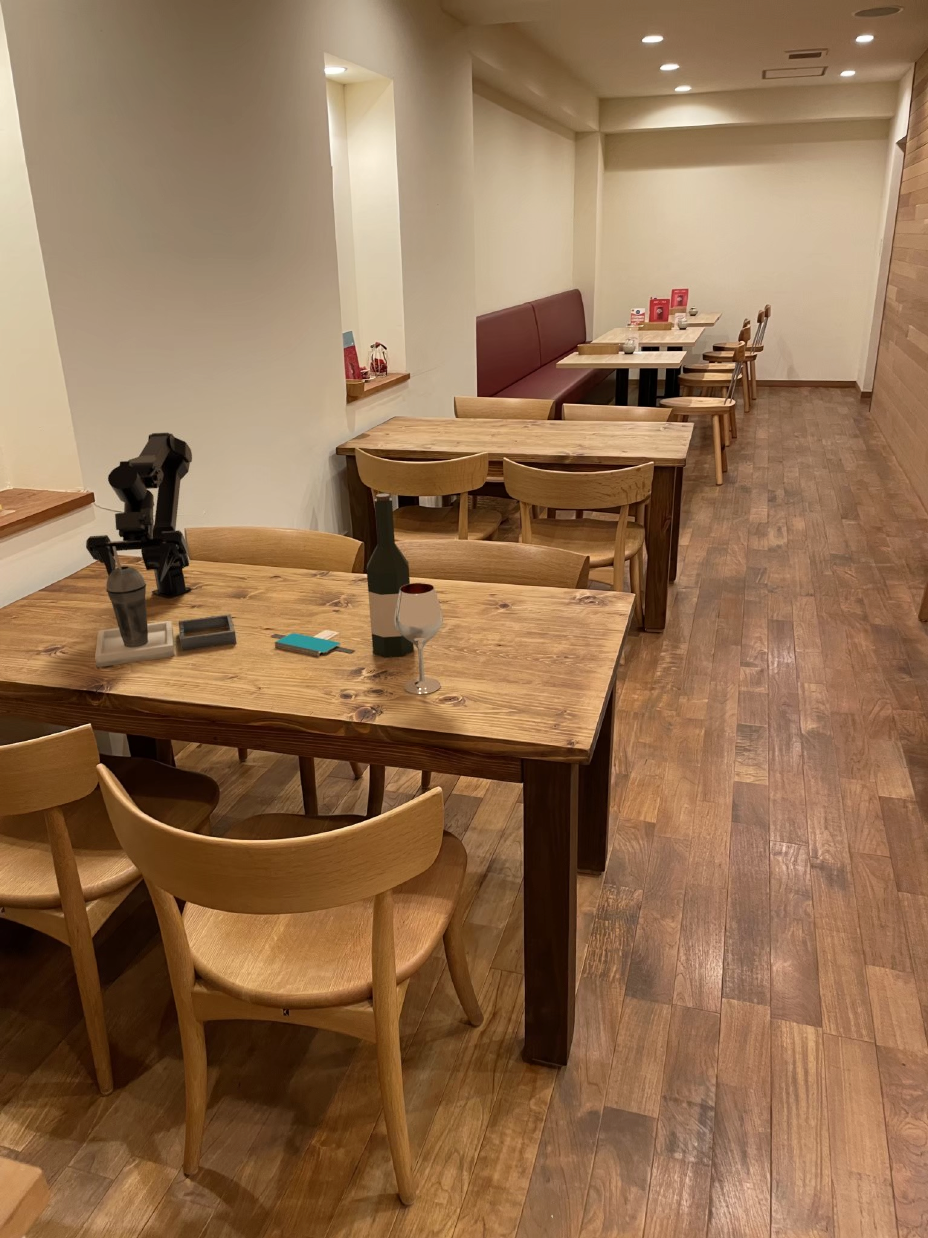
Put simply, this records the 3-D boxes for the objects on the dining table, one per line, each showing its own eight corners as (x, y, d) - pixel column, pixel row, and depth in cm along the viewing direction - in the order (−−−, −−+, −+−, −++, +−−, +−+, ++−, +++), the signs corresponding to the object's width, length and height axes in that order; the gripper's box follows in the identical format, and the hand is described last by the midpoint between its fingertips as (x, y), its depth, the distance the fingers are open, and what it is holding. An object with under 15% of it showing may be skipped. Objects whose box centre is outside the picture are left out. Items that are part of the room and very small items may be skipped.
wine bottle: (381, 661, 166) (369, 502, 155) (365, 646, 173) (352, 493, 162) (422, 652, 170) (413, 496, 159) (404, 637, 177) (394, 487, 166)
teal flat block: (373, 642, 176) (373, 634, 176) (336, 664, 167) (336, 656, 166) (294, 626, 186) (293, 619, 185) (255, 647, 176) (254, 639, 176)
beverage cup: (163, 639, 178) (147, 541, 170) (135, 652, 172) (117, 552, 164) (136, 633, 181) (120, 537, 174) (108, 646, 175) (89, 548, 168)
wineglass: (398, 678, 159) (392, 581, 153) (444, 675, 160) (440, 579, 153) (399, 698, 151) (392, 598, 145) (447, 695, 152) (442, 595, 145)
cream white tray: (97, 667, 168) (94, 656, 167) (100, 640, 181) (98, 630, 180) (174, 655, 172) (172, 645, 171) (173, 630, 185) (171, 620, 184)
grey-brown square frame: (181, 651, 174) (180, 639, 173) (180, 632, 183) (178, 621, 182) (236, 643, 177) (234, 631, 176) (232, 625, 186) (230, 613, 185)
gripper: (79, 497, 178) (74, 567, 171) (175, 491, 179) (174, 560, 173) (96, 525, 188) (92, 592, 182) (187, 519, 190) (187, 585, 184)
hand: (136, 582), depth 180 cm, fingers open, 9 cm apart
